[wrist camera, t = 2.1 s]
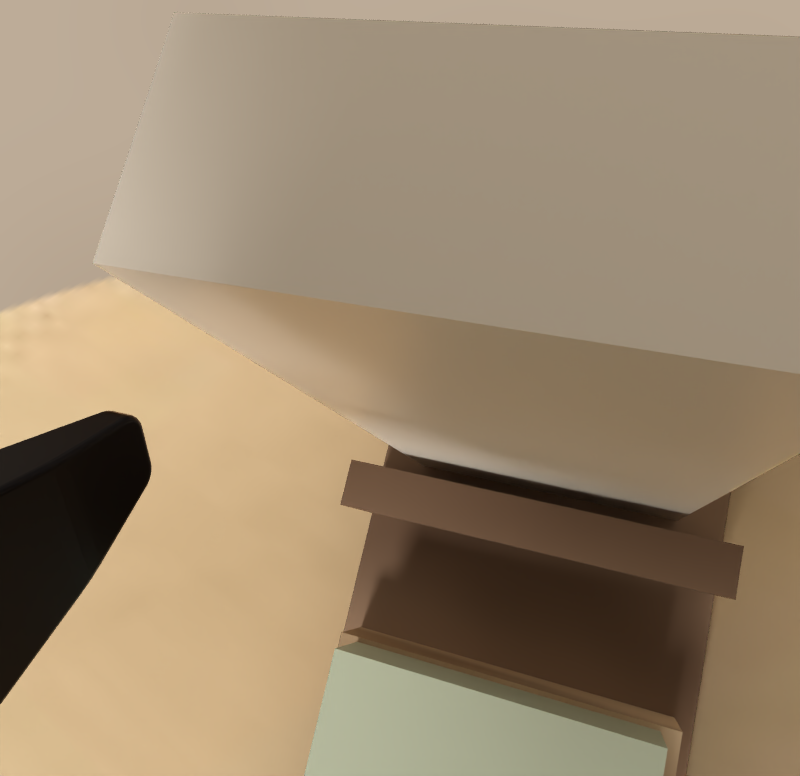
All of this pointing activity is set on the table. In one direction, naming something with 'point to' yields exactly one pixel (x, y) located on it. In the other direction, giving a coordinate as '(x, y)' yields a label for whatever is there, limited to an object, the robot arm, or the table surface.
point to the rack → (543, 582)
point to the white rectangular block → (489, 239)
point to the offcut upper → (462, 726)
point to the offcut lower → (528, 686)
